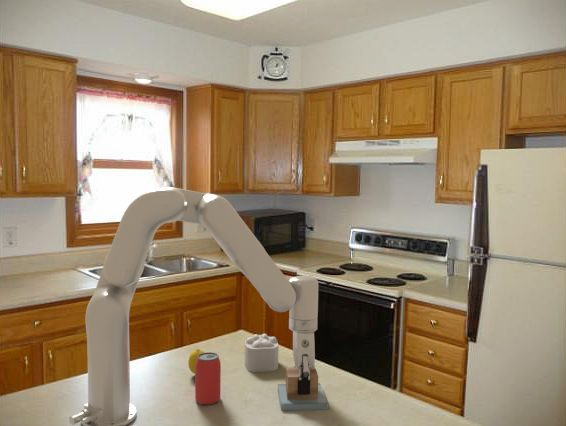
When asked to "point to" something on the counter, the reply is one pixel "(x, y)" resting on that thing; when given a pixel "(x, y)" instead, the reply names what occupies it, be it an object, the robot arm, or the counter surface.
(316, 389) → the wooden block
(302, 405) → the plate
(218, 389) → the beer can
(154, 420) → the counter surface
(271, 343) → the lumpy-topped squat cylinder
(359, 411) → the counter surface
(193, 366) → the lemon
